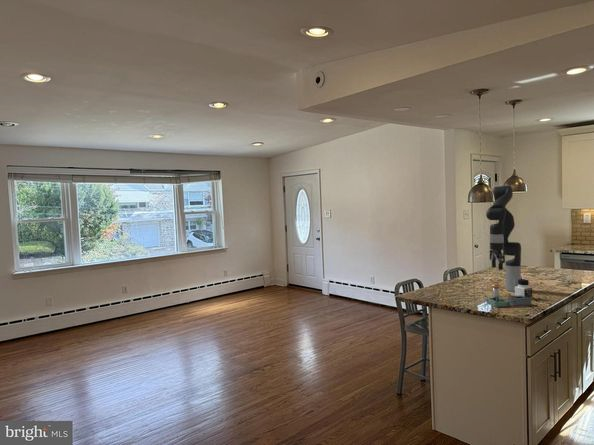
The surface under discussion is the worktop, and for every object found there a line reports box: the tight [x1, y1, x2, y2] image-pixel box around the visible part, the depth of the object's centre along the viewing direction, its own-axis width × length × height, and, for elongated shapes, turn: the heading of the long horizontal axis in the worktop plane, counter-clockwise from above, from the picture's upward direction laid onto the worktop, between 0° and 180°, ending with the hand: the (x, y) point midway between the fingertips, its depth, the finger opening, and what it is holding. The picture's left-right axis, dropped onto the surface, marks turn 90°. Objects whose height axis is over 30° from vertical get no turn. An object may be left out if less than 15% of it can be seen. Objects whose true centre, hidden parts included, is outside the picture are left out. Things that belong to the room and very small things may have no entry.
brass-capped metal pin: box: [491, 283, 501, 302], centre depth 250 cm, size 4×4×11 cm
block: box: [507, 295, 532, 307], centre depth 248 cm, size 9×9×4 cm
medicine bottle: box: [514, 278, 533, 300], centre depth 262 cm, size 7×7×12 cm
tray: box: [486, 296, 510, 308], centre depth 248 cm, size 12×8×3 cm, turn 0°
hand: (497, 268), depth 247 cm, fingers open, 8 cm apart
